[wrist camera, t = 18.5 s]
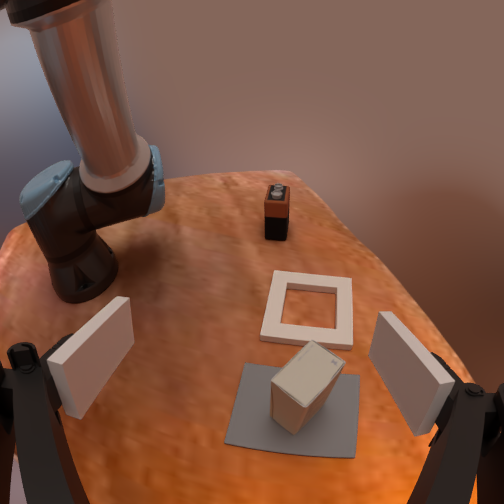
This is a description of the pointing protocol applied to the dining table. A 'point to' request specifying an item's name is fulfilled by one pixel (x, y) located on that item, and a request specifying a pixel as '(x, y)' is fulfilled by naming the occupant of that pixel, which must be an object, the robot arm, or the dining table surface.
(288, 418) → the skincare box
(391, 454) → the dining table surface
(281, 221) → the battery
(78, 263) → the robot arm
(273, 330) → the white square frame
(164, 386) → the dining table surface
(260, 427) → the grey mat
